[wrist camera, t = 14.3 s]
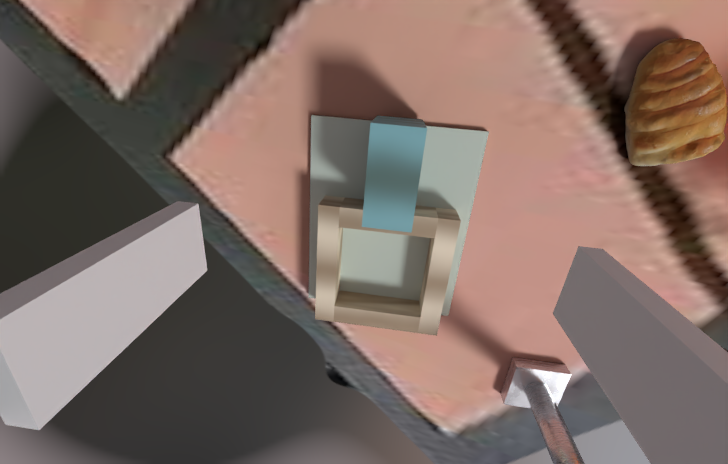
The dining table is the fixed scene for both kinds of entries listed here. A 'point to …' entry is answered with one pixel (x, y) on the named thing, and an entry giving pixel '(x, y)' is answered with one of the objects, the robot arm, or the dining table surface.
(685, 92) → the pastry
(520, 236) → the dining table surface
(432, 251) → the sponge holder
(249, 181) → the dining table surface
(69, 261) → the robot arm
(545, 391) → the stand
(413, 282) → the mat
